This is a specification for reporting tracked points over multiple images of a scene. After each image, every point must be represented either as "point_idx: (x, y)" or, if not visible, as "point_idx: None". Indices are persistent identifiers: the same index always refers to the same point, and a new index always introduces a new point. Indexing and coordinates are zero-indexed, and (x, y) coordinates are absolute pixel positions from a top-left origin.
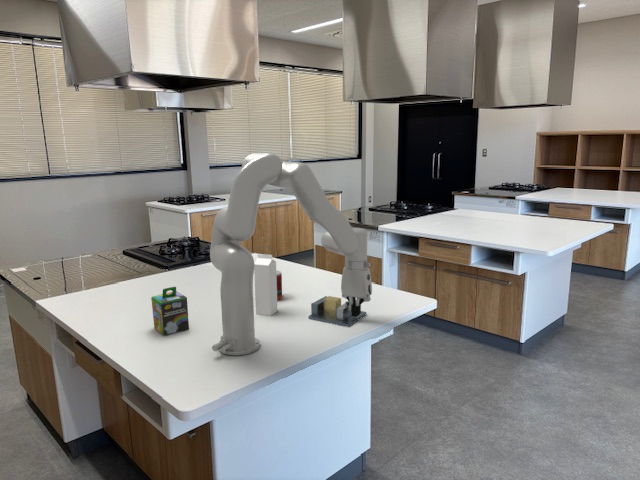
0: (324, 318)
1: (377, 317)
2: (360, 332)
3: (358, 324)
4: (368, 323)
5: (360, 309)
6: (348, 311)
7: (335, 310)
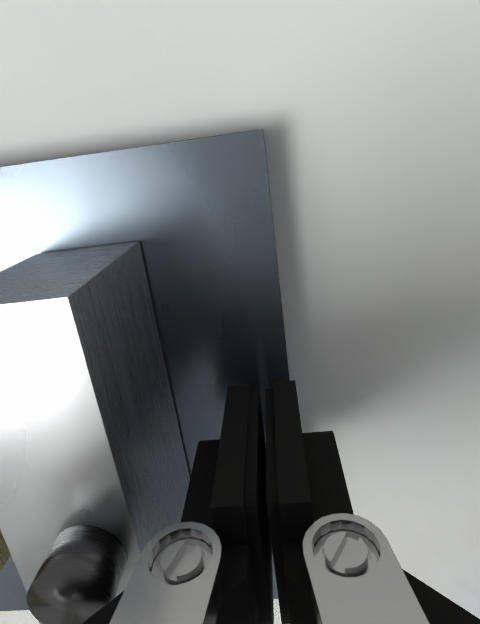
0: (16, 592)
1: (468, 130)
2: (476, 603)
3: (359, 471)
4: (447, 392)
5: (341, 473)
6: (169, 509)
7: (6, 557)
